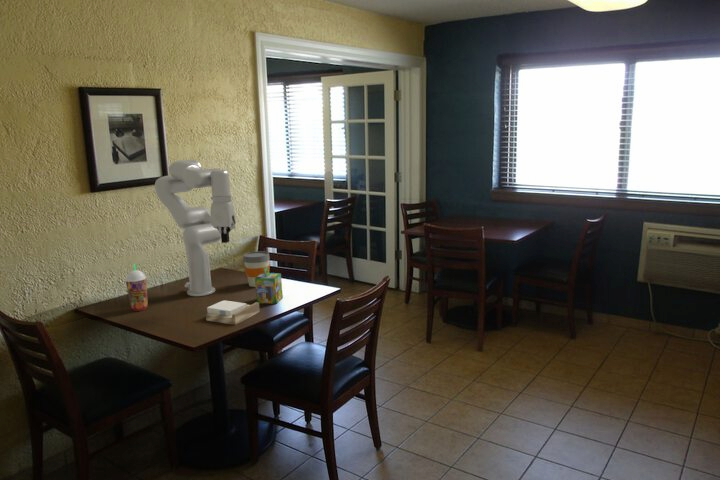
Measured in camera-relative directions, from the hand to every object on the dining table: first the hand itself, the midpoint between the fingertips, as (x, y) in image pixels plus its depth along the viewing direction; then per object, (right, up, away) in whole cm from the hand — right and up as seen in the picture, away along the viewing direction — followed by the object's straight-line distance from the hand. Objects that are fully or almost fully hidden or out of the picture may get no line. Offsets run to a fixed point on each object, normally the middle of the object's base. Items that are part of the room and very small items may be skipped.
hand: (225, 242), depth 245 cm
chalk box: (+18, -26, +6) cm, 32 cm away
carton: (+4, -30, -12) cm, 33 cm away
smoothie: (-37, -29, +2) cm, 47 cm away
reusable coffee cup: (+8, -21, +32) cm, 39 cm away
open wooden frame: (+6, -30, -12) cm, 33 cm away
